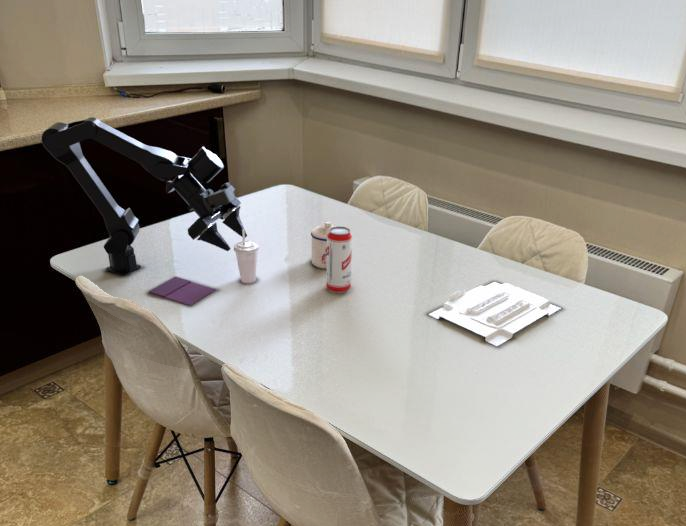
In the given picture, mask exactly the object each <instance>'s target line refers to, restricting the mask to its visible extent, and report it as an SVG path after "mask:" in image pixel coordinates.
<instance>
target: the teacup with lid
mask: <svg viewBox="0 0 686 526" xmlns="http://www.w3.org/2000/svg"><path fill="white" fill-rule="evenodd" d="M332 227H336V226H335V225H333V224H332V222H331V221H325V222H324V223H323V224H322V225H318V226H316V227H314V228H312V230H311V232H310V236H311V263H312V265H313V266H315V267H316V268H320V269H325V270H327V235H328V234H329V232H330V231H329V230H330V228H332Z"/></svg>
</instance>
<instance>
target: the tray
mask: <svg viewBox="0 0 686 526" xmlns="http://www.w3.org/2000/svg"><path fill="white" fill-rule="evenodd" d="M561 309H562V308H561V307H559V306H556V305H555V304H552V303H551V300H550V299H548V298H545V297H543V296H541V295H537V294H535V293H533V292H530V291H528V290H526V289H523V288H521V287H518V286H515V285H513V284H510V283H507V282H504V283H502V284H501V283H499V282H497V281H493V282H491V283H489V284H487V285H482V284H481V285H478V286H477V287H475V288H473V289H470V290H469V291H467V289H459V290H455V291H453V292H452V293H451V296H449V300H448V301H446V302H444V303H443V306H442V307H440V308H439V309H436V310H434V311H432V312H430V313H428V315H429V316H430V317H433V318H435V319H437V320H439V319H441V318H443V319H445V320H447V321H449V322H451V323H454V324H456V325H458V326H460V327H462V328H464V329H467V330H469V331H471V332H473V333H475V334H477V335H480V336H482V337H485V339H484V340H485V342H486V343H488V344H491V345H493V346H495V347H498V346H500V345H502V344H504V343H505V342H508V340H510V339H512V338H513V335H514V334H515V333H517V332H519V331H520V330H522V329H524V328H525V327H527V326H528V325H529V326H530V325H531V324H532V323H534V322H536V321H537V320H539V319H540V318H542V317H544V316H551V315H553V314H555V313H556V312H557V311H560V310H561Z"/></svg>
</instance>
